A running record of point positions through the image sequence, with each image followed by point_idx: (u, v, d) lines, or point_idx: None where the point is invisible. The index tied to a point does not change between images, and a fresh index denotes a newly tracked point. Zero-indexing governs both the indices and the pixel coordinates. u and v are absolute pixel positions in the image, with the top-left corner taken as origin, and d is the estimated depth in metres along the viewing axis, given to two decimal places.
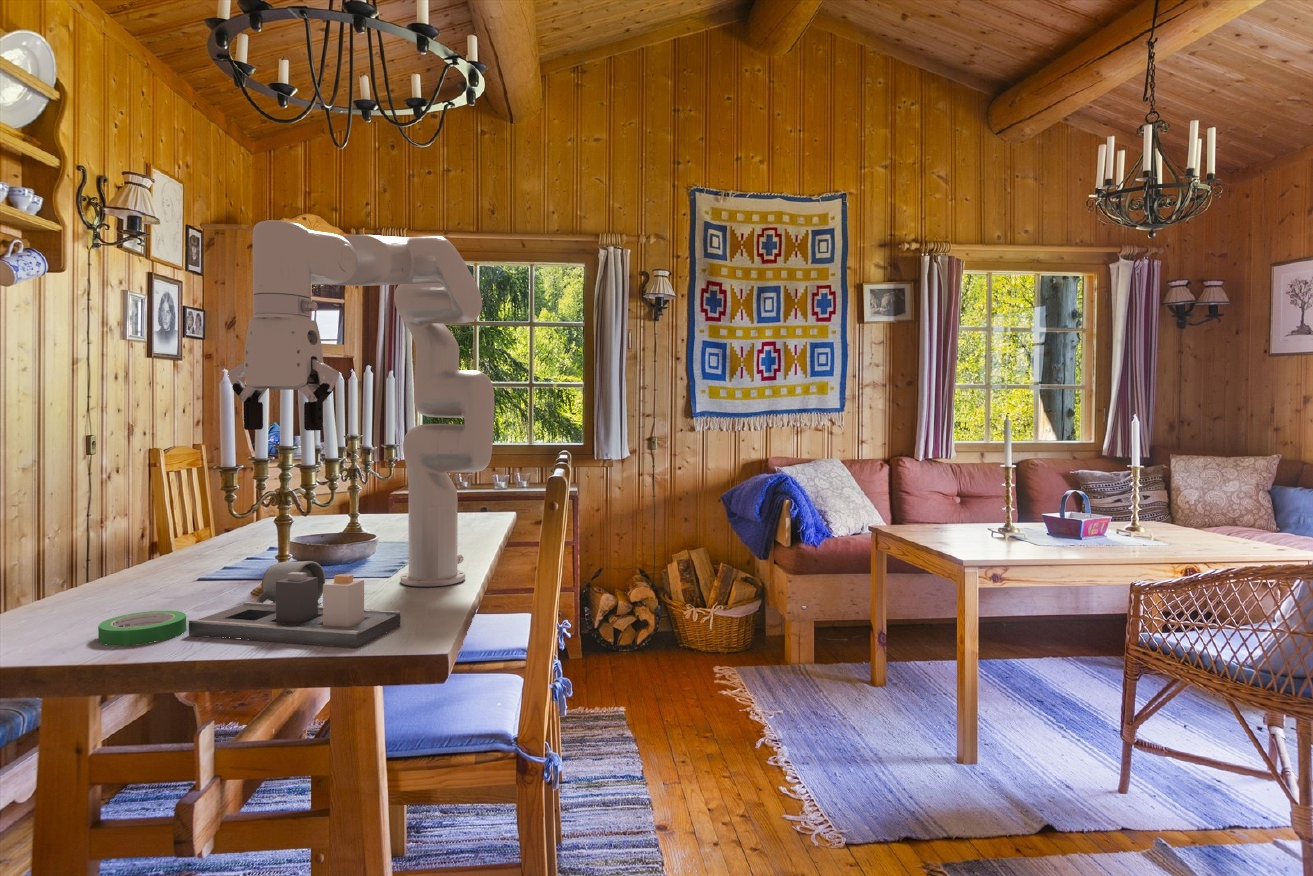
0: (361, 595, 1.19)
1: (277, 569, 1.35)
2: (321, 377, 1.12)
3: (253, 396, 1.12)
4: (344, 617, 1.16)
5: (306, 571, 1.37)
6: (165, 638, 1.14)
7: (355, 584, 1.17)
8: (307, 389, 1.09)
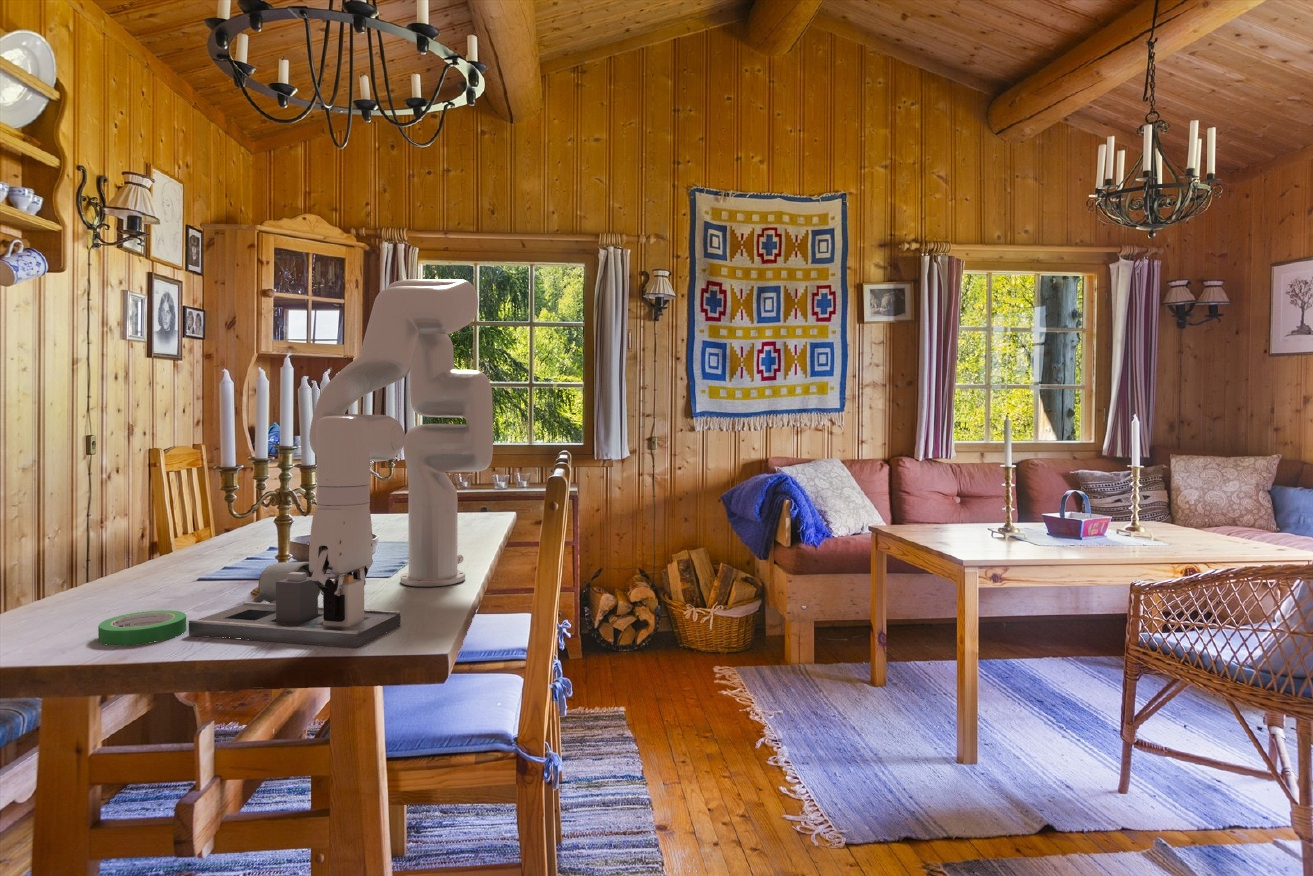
0: (361, 595, 1.19)
1: (274, 570, 1.34)
2: None
3: None
4: None
5: (303, 572, 1.36)
6: (165, 638, 1.14)
7: (355, 584, 1.17)
8: (363, 574, 1.21)
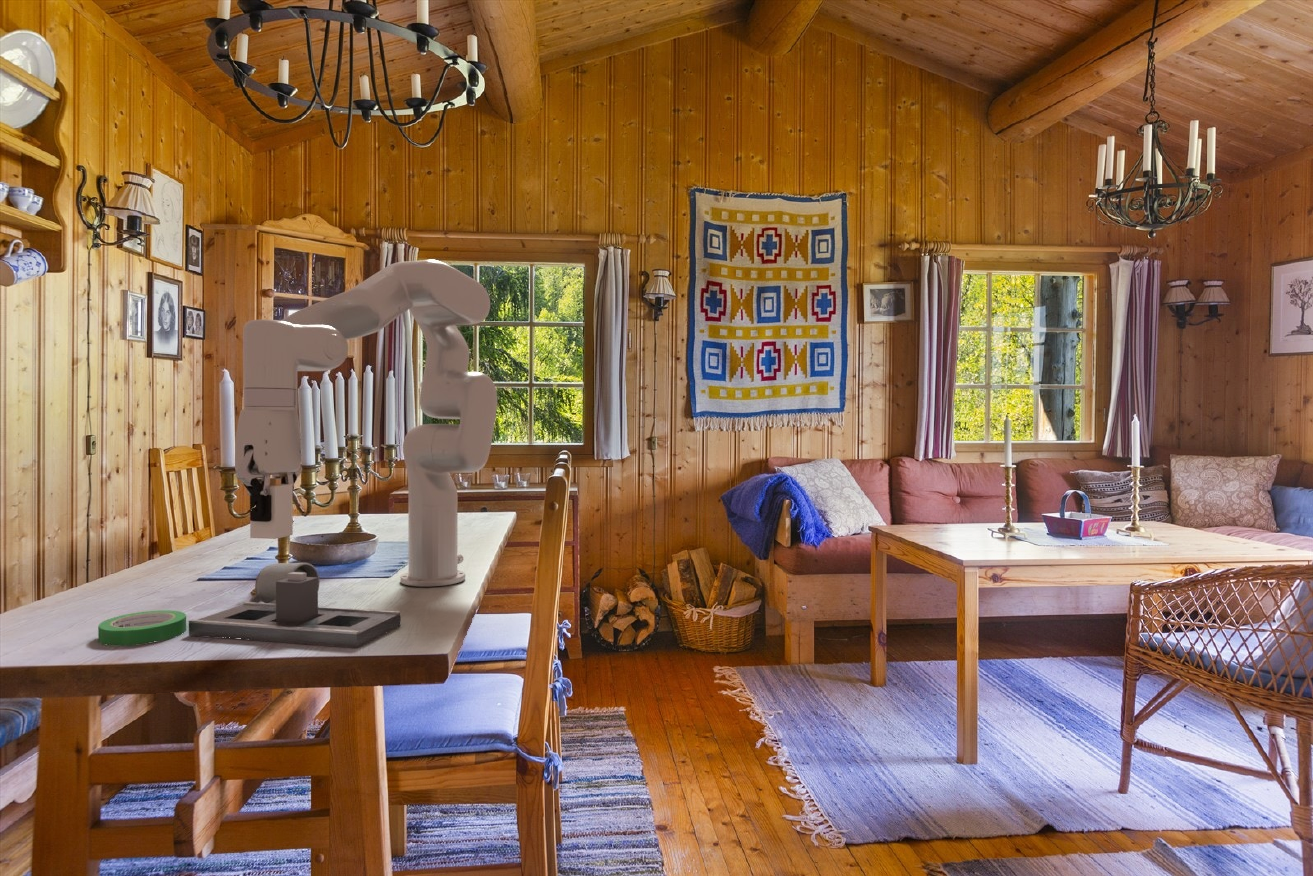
0: (289, 498, 1.21)
1: (271, 571, 1.34)
2: None
3: None
4: (271, 518, 1.18)
5: None
6: (165, 638, 1.14)
7: (283, 486, 1.19)
8: (291, 479, 1.23)
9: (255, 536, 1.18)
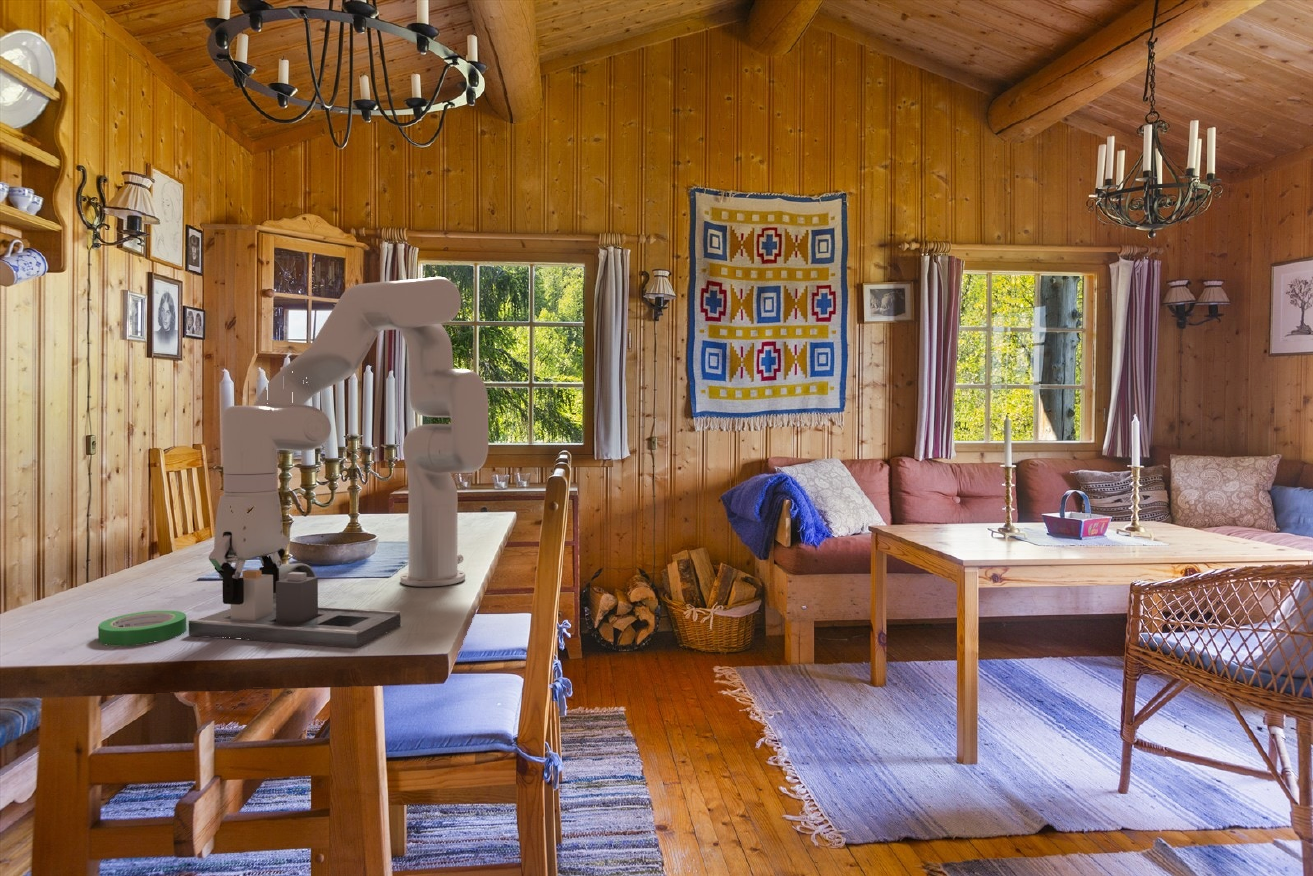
0: (270, 589, 1.22)
1: None
2: None
3: None
4: (251, 611, 1.19)
5: None
6: (165, 638, 1.14)
7: (263, 579, 1.21)
8: (277, 556, 1.25)
9: None
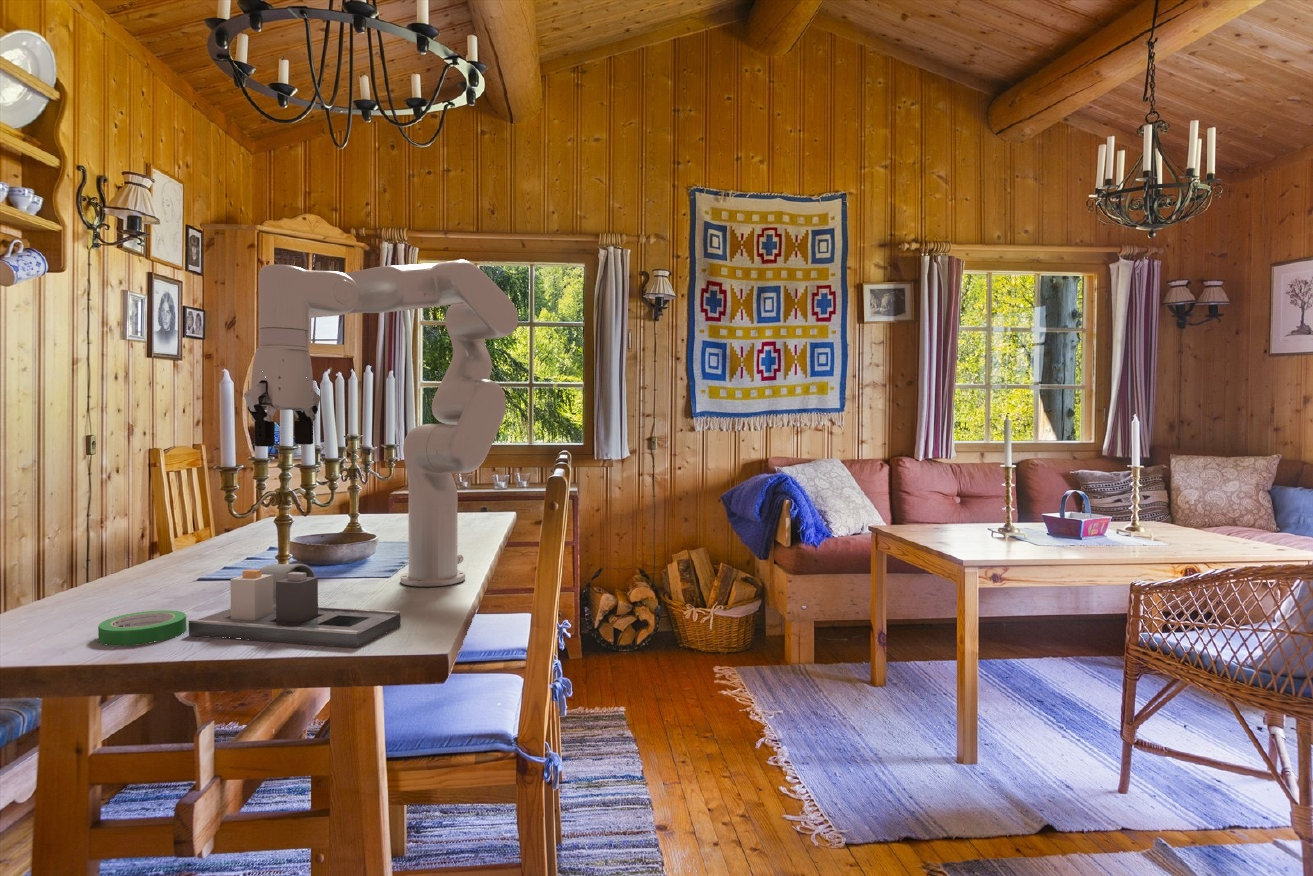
0: (270, 589, 1.22)
1: (267, 572, 1.33)
2: None
3: None
4: (251, 611, 1.19)
5: None
6: (165, 638, 1.14)
7: (263, 579, 1.21)
8: (310, 410, 1.33)
9: None
